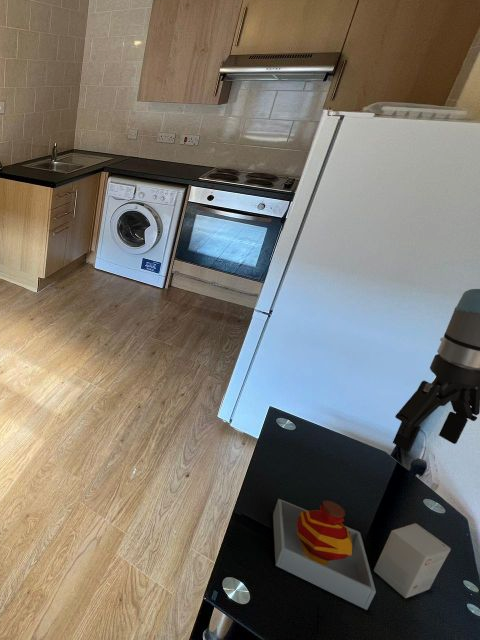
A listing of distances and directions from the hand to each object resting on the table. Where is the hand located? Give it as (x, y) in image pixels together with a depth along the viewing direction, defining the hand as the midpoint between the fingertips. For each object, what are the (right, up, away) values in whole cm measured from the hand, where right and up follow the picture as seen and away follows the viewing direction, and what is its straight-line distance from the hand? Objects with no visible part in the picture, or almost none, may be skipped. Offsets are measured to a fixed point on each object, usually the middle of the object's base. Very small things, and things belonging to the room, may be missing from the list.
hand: (424, 443), depth 90 cm
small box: (-2, -33, +3) cm, 34 cm away
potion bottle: (-18, -31, +7) cm, 36 cm away
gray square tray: (-18, -31, +8) cm, 37 cm away
